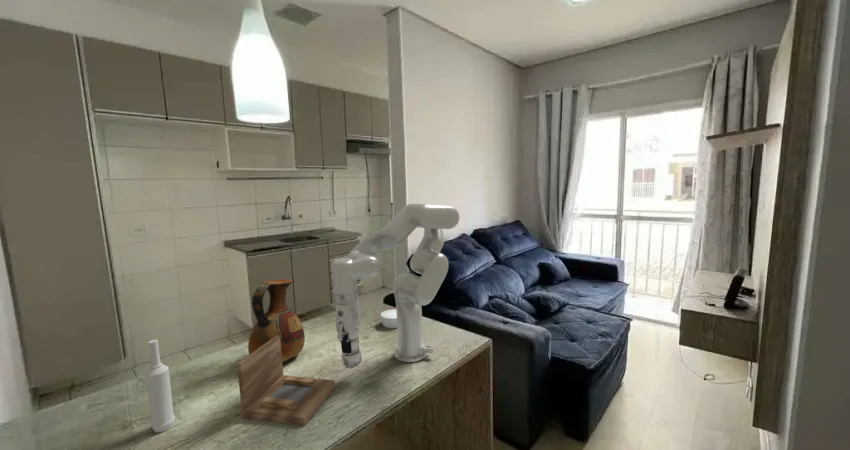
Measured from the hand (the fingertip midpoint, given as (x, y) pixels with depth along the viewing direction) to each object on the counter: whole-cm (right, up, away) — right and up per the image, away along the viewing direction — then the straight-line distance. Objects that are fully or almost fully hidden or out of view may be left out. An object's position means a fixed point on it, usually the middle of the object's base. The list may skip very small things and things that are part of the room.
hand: (350, 347), depth 116 cm
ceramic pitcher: (-32, -10, +18) cm, 38 cm away
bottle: (-48, -15, -20) cm, 54 cm away
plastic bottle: (0, -7, +1) cm, 7 cm away
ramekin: (+10, -6, +45) cm, 47 cm away
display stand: (-16, -13, -10) cm, 23 cm away
